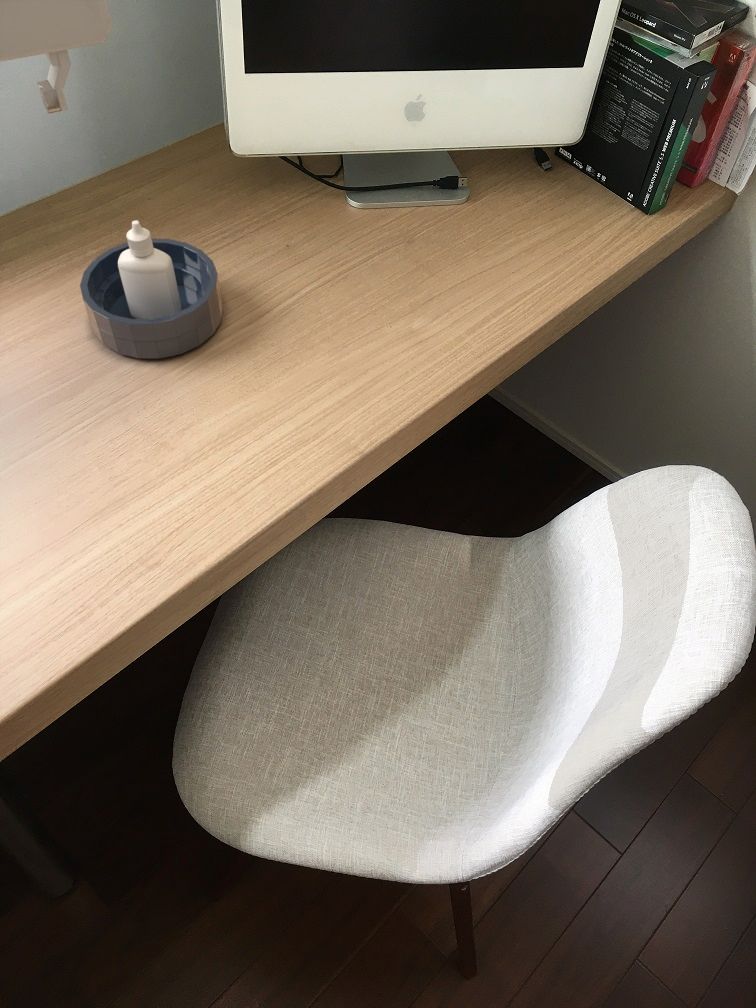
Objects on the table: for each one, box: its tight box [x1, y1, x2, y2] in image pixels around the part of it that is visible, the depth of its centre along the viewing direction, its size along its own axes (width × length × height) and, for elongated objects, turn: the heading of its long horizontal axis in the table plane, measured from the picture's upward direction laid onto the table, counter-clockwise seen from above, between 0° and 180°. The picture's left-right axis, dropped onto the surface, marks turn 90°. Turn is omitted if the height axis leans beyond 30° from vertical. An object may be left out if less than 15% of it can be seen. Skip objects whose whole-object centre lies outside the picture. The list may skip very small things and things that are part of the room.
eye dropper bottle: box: [118, 220, 182, 319], centre depth 85 cm, size 4×6×12 cm
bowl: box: [79, 238, 223, 359], centre depth 88 cm, size 15×15×6 cm
